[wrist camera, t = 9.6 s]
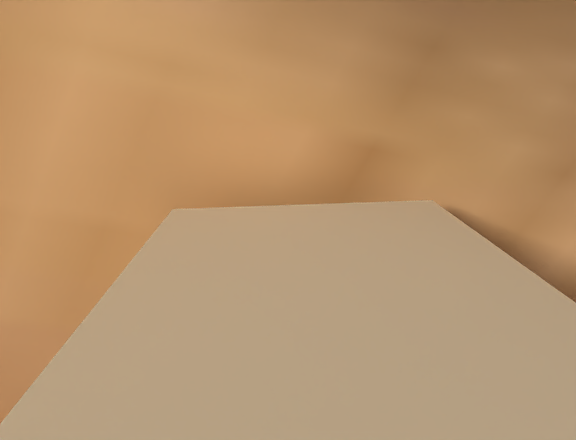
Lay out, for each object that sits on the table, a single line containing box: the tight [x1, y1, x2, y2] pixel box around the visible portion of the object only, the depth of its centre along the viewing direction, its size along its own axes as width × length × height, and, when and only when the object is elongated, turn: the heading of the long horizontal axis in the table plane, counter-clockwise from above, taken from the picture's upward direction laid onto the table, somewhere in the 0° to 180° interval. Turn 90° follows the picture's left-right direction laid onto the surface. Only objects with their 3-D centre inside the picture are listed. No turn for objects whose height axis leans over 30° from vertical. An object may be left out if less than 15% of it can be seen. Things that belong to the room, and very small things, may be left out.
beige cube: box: [0, 200, 576, 440], centre depth 8 cm, size 8×8×9 cm
